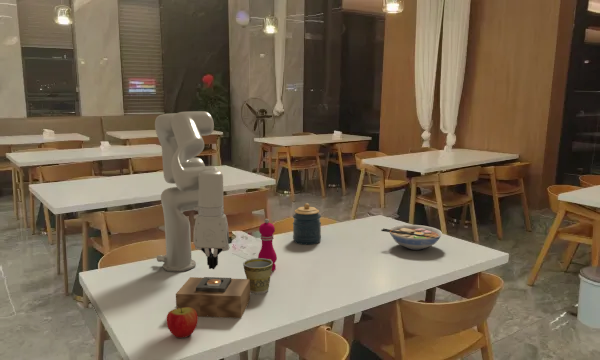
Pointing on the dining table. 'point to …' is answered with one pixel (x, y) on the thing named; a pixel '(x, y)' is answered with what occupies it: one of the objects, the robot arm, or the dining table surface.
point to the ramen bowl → (414, 236)
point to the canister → (306, 225)
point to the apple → (182, 321)
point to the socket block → (215, 297)
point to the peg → (214, 282)
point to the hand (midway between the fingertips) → (212, 267)
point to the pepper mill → (267, 242)
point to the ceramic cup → (258, 274)
